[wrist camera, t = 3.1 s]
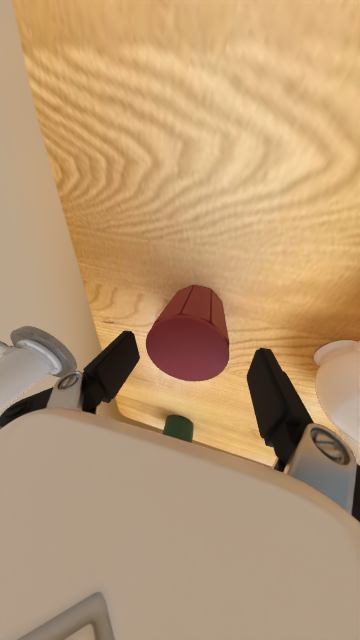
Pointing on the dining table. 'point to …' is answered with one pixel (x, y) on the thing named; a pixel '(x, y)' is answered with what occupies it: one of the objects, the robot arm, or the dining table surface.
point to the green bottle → (179, 428)
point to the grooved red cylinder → (190, 336)
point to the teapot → (340, 388)
